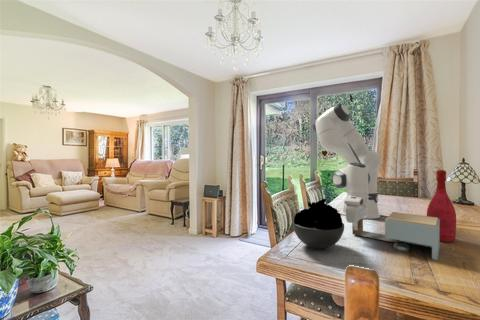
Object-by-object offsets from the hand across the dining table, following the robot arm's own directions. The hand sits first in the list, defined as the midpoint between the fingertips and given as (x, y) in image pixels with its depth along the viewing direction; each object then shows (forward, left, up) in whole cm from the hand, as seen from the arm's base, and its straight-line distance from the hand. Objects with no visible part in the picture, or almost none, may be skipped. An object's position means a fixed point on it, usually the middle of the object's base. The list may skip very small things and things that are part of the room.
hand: (357, 228), depth 110 cm
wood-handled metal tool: (+7, 0, -3) cm, 7 cm away
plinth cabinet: (+21, -3, -3) cm, 21 cm away
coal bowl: (-8, -25, -4) cm, 26 cm away
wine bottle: (+29, +17, -4) cm, 34 cm away
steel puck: (+18, -7, -4) cm, 19 cm away
